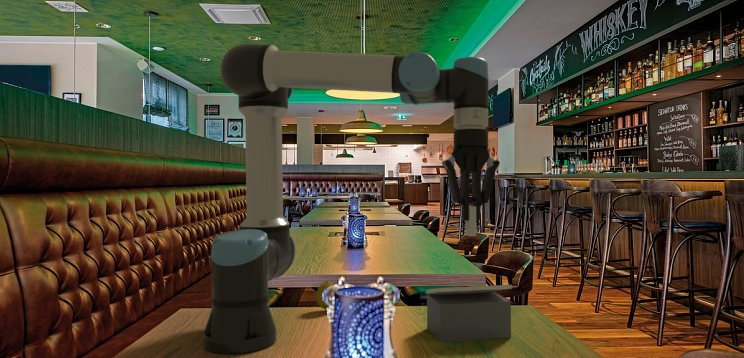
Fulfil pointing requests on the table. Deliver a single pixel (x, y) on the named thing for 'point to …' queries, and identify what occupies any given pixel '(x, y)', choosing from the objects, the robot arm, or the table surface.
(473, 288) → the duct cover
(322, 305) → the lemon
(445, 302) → the box
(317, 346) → the table surface
